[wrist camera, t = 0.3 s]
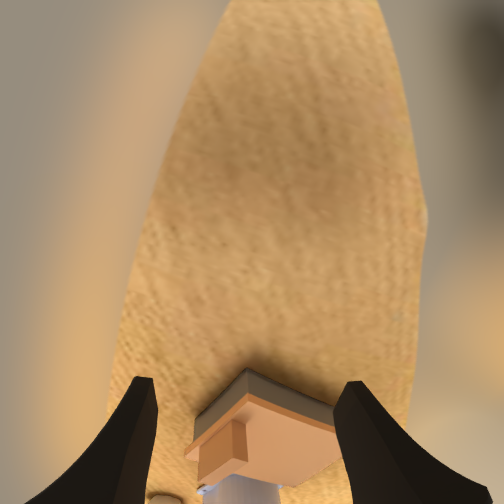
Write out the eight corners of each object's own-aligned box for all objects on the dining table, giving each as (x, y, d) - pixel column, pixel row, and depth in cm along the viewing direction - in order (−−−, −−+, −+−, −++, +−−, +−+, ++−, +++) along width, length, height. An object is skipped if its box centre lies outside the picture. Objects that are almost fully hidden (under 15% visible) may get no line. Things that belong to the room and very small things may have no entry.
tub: (287, 452, 28) (292, 478, 25) (194, 419, 26) (192, 449, 22) (342, 409, 26) (352, 437, 23) (246, 367, 24) (249, 399, 20)
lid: (291, 475, 26) (298, 514, 21) (185, 442, 23) (180, 490, 18) (357, 428, 24) (374, 471, 19) (246, 384, 21) (251, 440, 16)
